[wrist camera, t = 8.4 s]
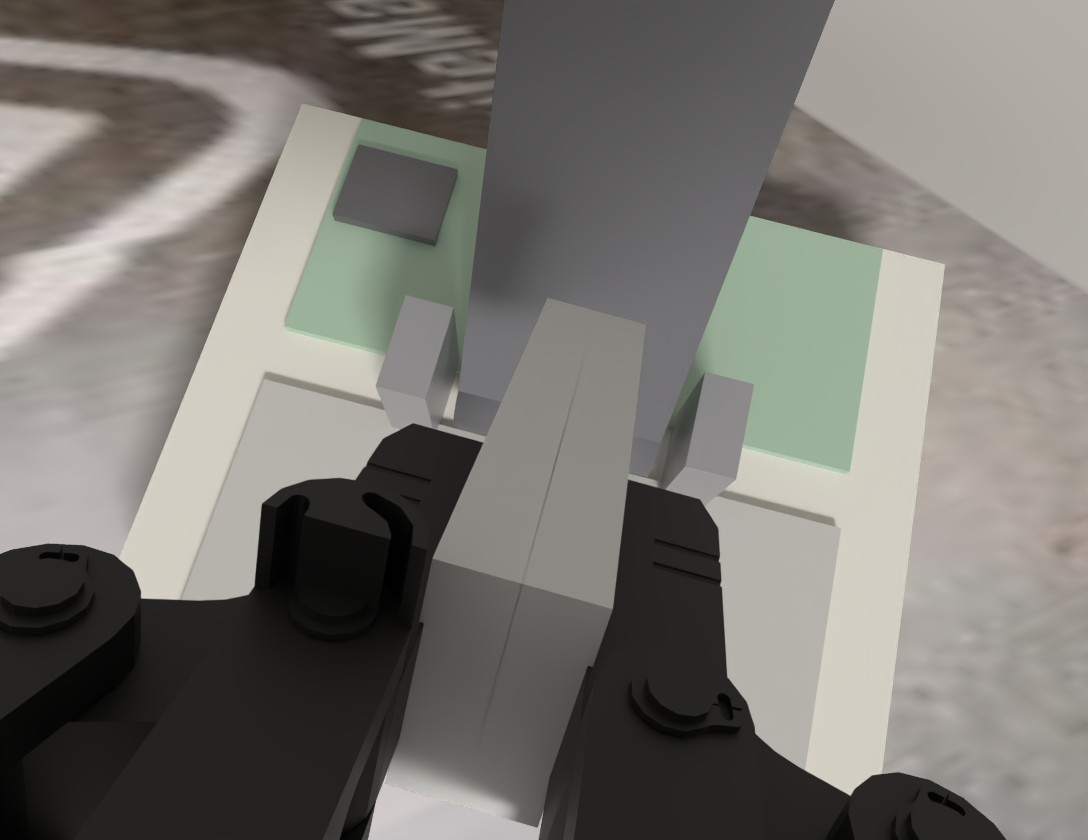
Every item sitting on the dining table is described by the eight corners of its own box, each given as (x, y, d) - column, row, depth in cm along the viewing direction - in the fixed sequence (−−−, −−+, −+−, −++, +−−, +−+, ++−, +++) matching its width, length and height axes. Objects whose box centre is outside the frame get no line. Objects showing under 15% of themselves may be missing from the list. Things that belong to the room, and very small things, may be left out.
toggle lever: (637, 521, 21) (981, -330, 10) (441, 470, 22) (538, -434, 10) (655, 407, 24) (940, -366, 12) (481, 362, 24) (596, -446, 12)
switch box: (816, 811, 25) (947, 862, 18) (152, 634, 26) (16, 613, 18) (887, 318, 30) (1013, 200, 23) (326, 176, 30) (273, 16, 23)
